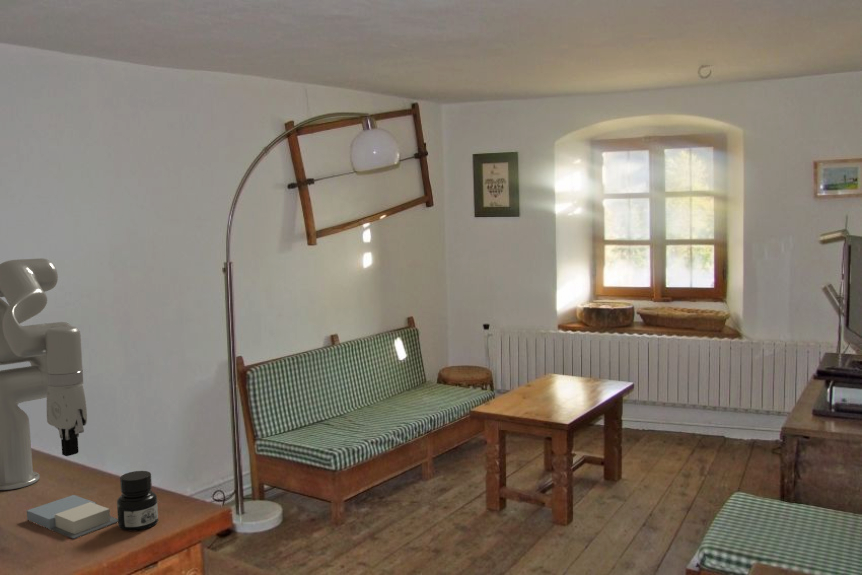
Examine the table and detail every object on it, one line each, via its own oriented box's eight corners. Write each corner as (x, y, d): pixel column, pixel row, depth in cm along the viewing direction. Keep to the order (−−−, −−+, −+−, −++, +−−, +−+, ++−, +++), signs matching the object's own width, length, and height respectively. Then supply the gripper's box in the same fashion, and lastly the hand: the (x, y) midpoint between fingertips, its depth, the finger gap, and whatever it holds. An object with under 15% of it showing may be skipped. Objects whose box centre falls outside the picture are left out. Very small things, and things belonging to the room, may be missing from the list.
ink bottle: (128, 536, 176) (125, 485, 175) (109, 526, 182) (106, 477, 181) (167, 522, 184) (164, 473, 182) (147, 513, 189) (145, 466, 188)
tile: (55, 526, 182) (54, 514, 181) (91, 513, 189) (90, 502, 189) (74, 534, 177) (73, 521, 177) (110, 520, 184) (109, 508, 184)
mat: (50, 529, 180) (50, 528, 180) (97, 512, 190) (97, 511, 190) (73, 539, 175) (73, 538, 175) (121, 521, 185) (120, 520, 185)
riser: (27, 520, 186) (26, 510, 186) (74, 504, 196) (73, 494, 196) (49, 529, 181) (49, 519, 180) (96, 512, 190) (96, 502, 190)
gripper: (33, 378, 183) (38, 453, 185) (68, 386, 174) (73, 464, 176) (63, 372, 189) (67, 444, 191) (98, 379, 181) (103, 455, 183)
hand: (70, 454), depth 184 cm, fingers closed
